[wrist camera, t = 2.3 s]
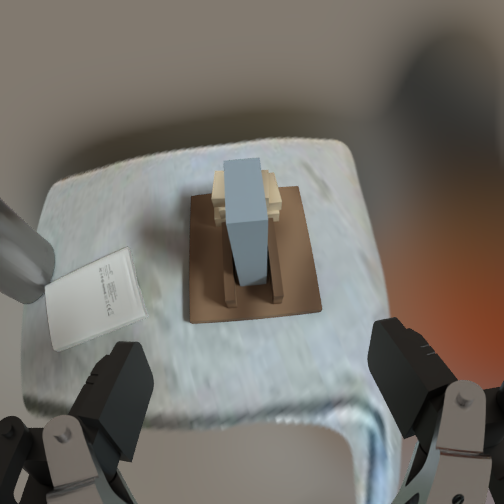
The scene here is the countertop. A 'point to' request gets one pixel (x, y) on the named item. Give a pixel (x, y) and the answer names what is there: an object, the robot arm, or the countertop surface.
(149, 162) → the countertop surface
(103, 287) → the external hard drive
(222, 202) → the birch offcut stack
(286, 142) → the countertop surface
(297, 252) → the walnut stand
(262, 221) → the slate-blue block
